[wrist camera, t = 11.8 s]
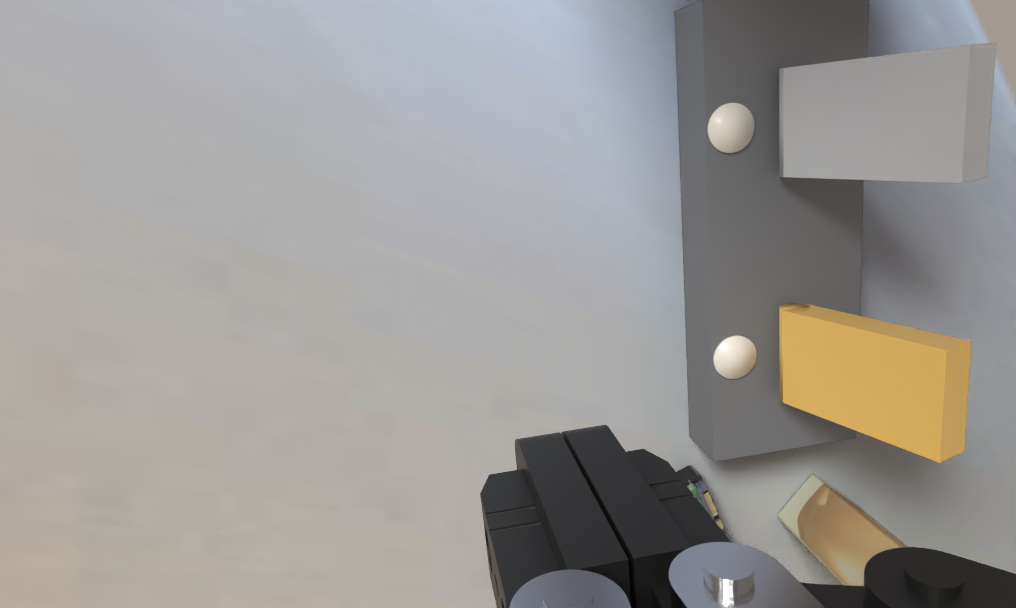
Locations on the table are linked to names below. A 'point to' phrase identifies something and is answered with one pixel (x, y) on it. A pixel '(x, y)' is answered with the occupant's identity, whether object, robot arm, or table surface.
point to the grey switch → (889, 116)
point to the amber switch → (876, 378)
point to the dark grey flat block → (757, 215)
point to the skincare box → (836, 530)
